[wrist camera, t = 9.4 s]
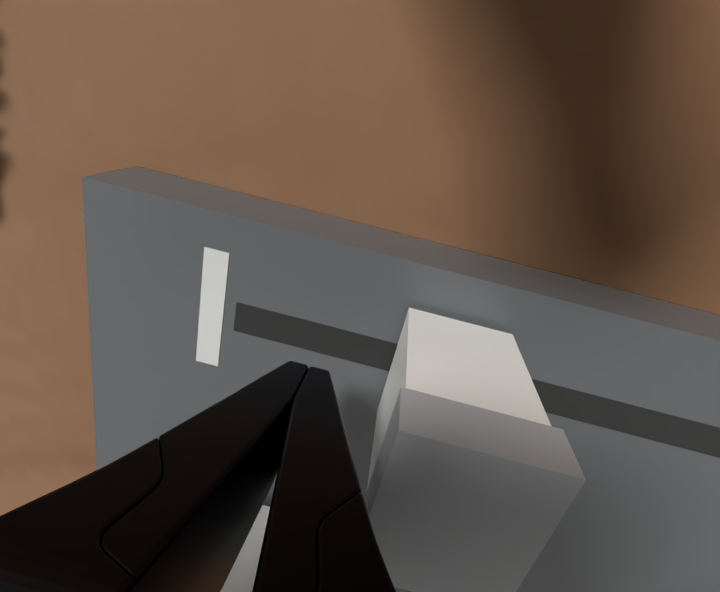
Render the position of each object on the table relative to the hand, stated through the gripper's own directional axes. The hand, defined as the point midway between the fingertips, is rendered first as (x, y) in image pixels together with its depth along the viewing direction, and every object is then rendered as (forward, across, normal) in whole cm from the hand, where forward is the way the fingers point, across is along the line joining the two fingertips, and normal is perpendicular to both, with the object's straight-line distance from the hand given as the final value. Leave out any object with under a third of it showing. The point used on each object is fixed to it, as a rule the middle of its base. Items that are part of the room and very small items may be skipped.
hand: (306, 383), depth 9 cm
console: (+4, -5, +4) cm, 7 cm away
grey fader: (+2, -3, 0) cm, 3 cm away
